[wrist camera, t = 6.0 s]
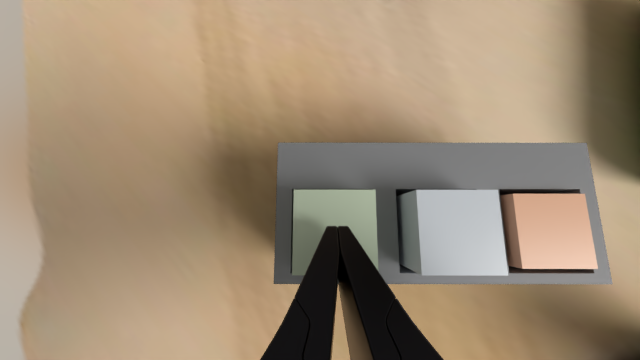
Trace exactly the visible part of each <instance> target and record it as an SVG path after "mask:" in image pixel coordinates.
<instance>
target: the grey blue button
mask: <svg viewBox="0 0 640 360" xmlns="http://www.w3.org/2000/svg"><path fill="white" fill-rule="evenodd" d="M396 206H397V226H398V247H399V264H401V265H403V266H405V267H407V268H409V269H410V270H412V271H414V272H416V273H418V274H420V275H446V276H508V269H507V261H506V252H505V244H504V235H503V227H502V218H501V210H500V202H499V193H498V190H414V191H411V192H408V193H405V194H402V195H399V196H396Z"/></svg>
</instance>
